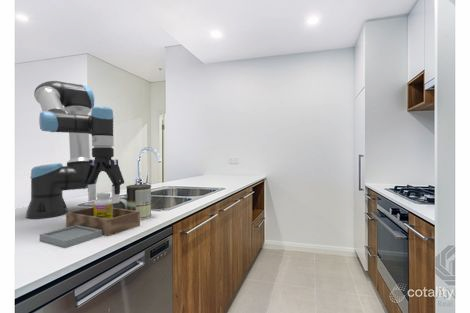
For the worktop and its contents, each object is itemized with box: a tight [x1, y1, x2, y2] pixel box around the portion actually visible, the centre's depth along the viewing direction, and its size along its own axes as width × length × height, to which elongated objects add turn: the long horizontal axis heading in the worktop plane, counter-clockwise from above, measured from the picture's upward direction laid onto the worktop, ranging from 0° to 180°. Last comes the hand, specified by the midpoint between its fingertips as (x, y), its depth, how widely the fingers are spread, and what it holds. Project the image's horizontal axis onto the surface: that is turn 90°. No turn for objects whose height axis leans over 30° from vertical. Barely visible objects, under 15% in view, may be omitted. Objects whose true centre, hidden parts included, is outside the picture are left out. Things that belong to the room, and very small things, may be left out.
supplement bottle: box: [93, 192, 113, 219], centre depth 98 cm, size 7×7×13 cm
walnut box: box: [65, 206, 141, 237], centre depth 98 cm, size 24×14×6 cm, turn 64°
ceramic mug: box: [113, 198, 127, 210], centre depth 115 cm, size 11×8×8 cm
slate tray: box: [39, 225, 103, 249], centre depth 84 cm, size 14×12×2 cm
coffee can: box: [125, 183, 152, 221], centre depth 111 cm, size 10×10×14 cm
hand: (103, 201), depth 98 cm, fingers open, 13 cm apart
